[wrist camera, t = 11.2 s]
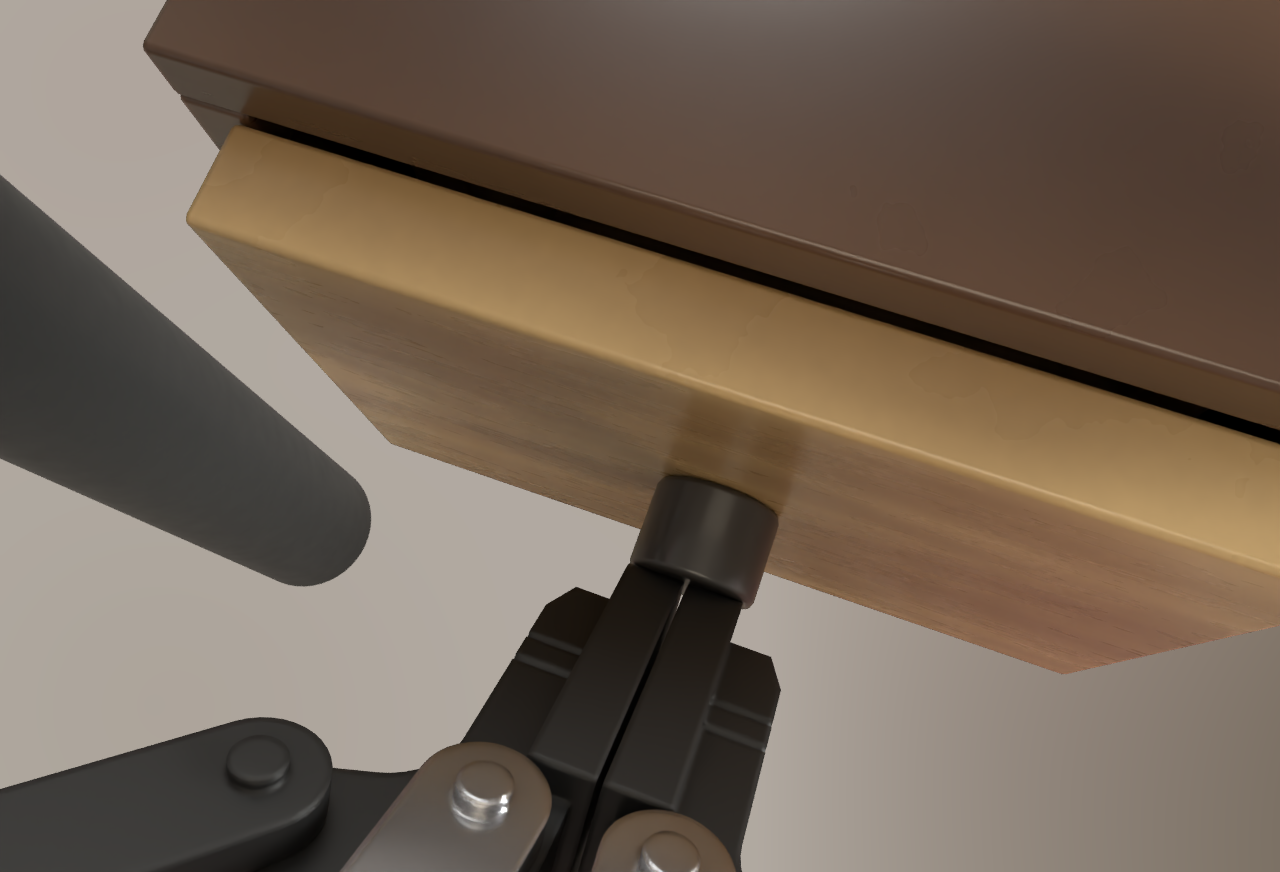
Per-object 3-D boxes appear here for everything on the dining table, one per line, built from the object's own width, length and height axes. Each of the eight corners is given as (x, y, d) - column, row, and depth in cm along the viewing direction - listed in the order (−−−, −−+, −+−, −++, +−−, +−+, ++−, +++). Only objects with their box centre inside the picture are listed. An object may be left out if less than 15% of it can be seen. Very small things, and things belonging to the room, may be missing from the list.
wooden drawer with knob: (1047, 753, 16) (1356, 747, 9) (358, 509, 18) (122, 327, 10) (1237, -26, 20) (1565, -493, 13) (656, -174, 22) (642, -669, 14)
